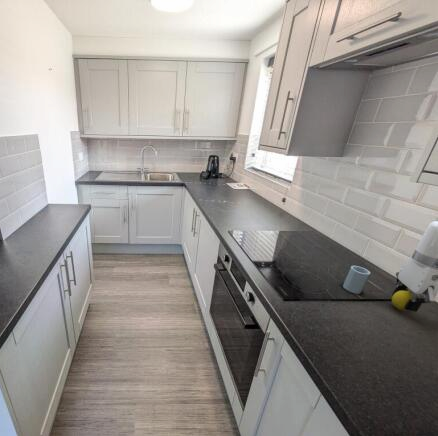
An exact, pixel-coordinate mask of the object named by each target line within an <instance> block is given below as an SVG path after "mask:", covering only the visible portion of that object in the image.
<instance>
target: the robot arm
mask: <svg viewBox="0 0 438 436" xmlns="http://www.w3.org/2000/svg"><path fill="white" fill-rule="evenodd" d="M426 227H427V228H426V229H425V230H424V233H423V235H422V237H421V238H420V240H419V242H418V244H417V245H416V247H415V249H414V251H413V253H412V255H410V257H409V258H408V259H407V260H406V261H405V263H404V264H403V266H402V267H401V268H400V269H399V271H398V272H395V276H396V283H395V289H394V290H393V292H392V294H391V297H392V296H393V295H394V294H395V293H396V292H398V291H402V290H404V291H412V294H413V295H412V300H411V299H409V300H408V302H407V304H406V305H405V307H404V309H405V310H404V311H410V312H415V313H417V312H418V311H419V309H420V307H421V306H422V304H429V303H431V304H432V303H435V302H436V299H435V297H436V296H437V295H438V220H434V221H431V222H430V223H429V224H428V226H426ZM418 296H420V297H418Z"/></svg>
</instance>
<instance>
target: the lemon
mask: <svg viewBox="0 0 438 436" xmlns="http://www.w3.org/2000/svg"><path fill="white" fill-rule="evenodd" d="M412 295H413V292H411V290H408V291H404V290H402V291H398V292H396V293H395V294H394V295H393V296H392V295H391V302H392V305H393V306H394V308H396V309H397V310H399V311H406V310H405V309H404V307H405V305H406V304H407V302H408V300H409V299H411V300H412Z"/></svg>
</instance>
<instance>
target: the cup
mask: <svg viewBox="0 0 438 436" xmlns="http://www.w3.org/2000/svg"><path fill="white" fill-rule="evenodd" d="M370 276H371V271H370V270H368V269H366V268H364V267H362V266H359V265H351V266H350V268H349V270H348V273H347V274H346V277H345V279H344V281H343V284H342V287H343V289H345V291H347V292H349V293H352V294H356V295H360V294H361V293H362V291H363V290H364V288H365V285H366V283H367V282H368V279H369V277H370Z"/></svg>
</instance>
